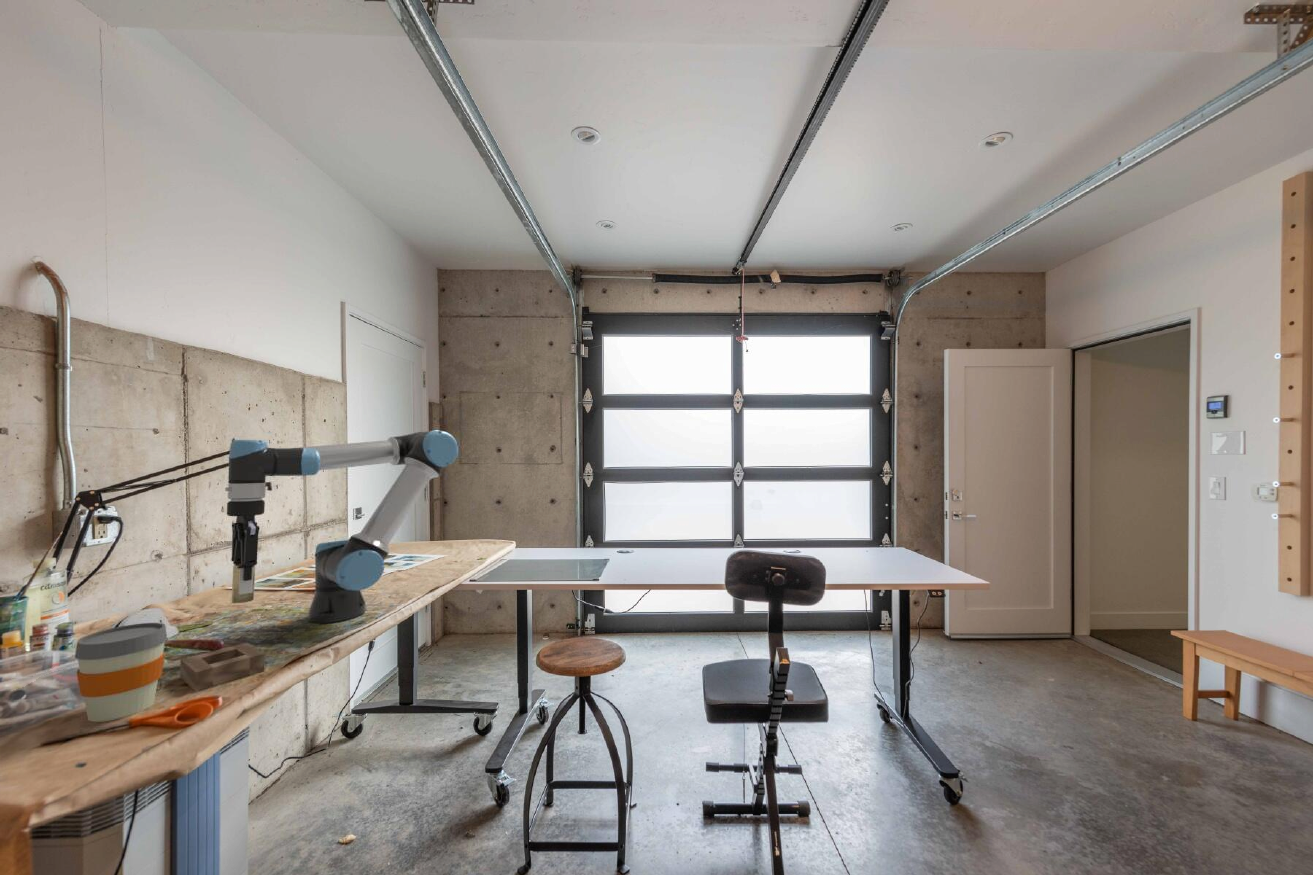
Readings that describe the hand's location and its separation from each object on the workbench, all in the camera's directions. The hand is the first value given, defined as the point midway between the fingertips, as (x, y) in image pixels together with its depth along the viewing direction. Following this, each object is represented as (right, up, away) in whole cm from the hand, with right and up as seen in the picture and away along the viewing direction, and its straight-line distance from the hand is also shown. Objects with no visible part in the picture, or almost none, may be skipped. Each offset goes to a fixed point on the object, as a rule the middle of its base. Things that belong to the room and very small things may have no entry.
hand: (242, 591), depth 129 cm
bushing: (0, -2, 0) cm, 2 cm away
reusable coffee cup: (0, -15, -29) cm, 33 cm away
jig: (+7, -15, -14) cm, 21 cm away
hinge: (-31, -16, +6) cm, 36 cm away
